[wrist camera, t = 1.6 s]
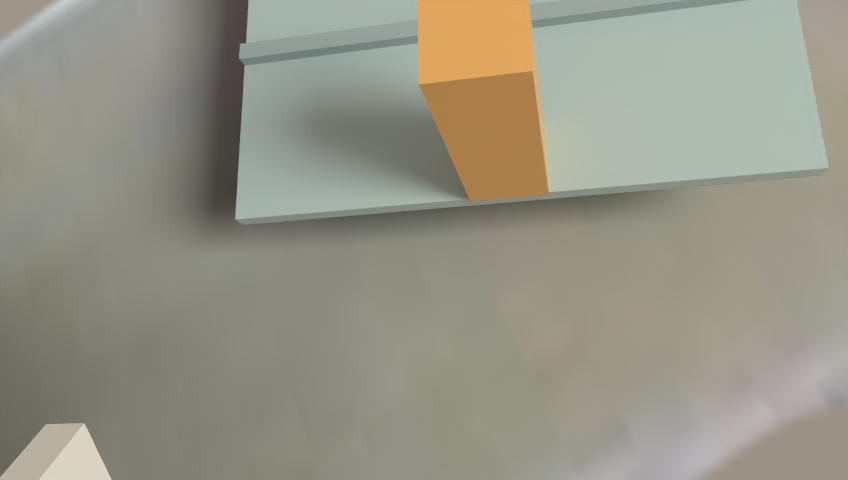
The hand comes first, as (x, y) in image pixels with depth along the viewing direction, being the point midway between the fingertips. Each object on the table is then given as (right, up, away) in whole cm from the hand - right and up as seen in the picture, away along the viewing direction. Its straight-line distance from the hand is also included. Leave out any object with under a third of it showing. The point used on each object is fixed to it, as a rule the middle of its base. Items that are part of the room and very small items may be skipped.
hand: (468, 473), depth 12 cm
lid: (+3, +16, +22) cm, 27 cm away
